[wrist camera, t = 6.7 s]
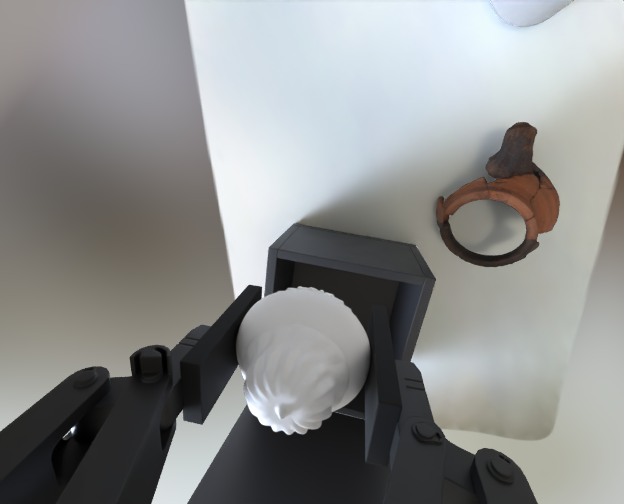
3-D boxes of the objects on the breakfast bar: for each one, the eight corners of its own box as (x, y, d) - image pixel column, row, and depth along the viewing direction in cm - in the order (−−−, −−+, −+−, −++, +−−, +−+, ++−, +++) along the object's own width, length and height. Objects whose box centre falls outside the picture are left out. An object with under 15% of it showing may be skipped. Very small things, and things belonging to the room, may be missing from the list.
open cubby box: (293, 223, 33) (268, 247, 24) (415, 245, 31) (436, 279, 22) (280, 337, 38) (255, 392, 29) (384, 361, 36) (390, 426, 28)
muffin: (240, 297, 17) (162, 386, 10) (326, 241, 15) (298, 306, 8) (303, 375, 18) (267, 503, 11) (390, 332, 16) (411, 455, 9)
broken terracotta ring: (546, 237, 29) (543, 286, 24) (445, 226, 34) (425, 264, 29) (582, 106, 23) (589, 133, 18) (453, 117, 28) (428, 140, 23)
